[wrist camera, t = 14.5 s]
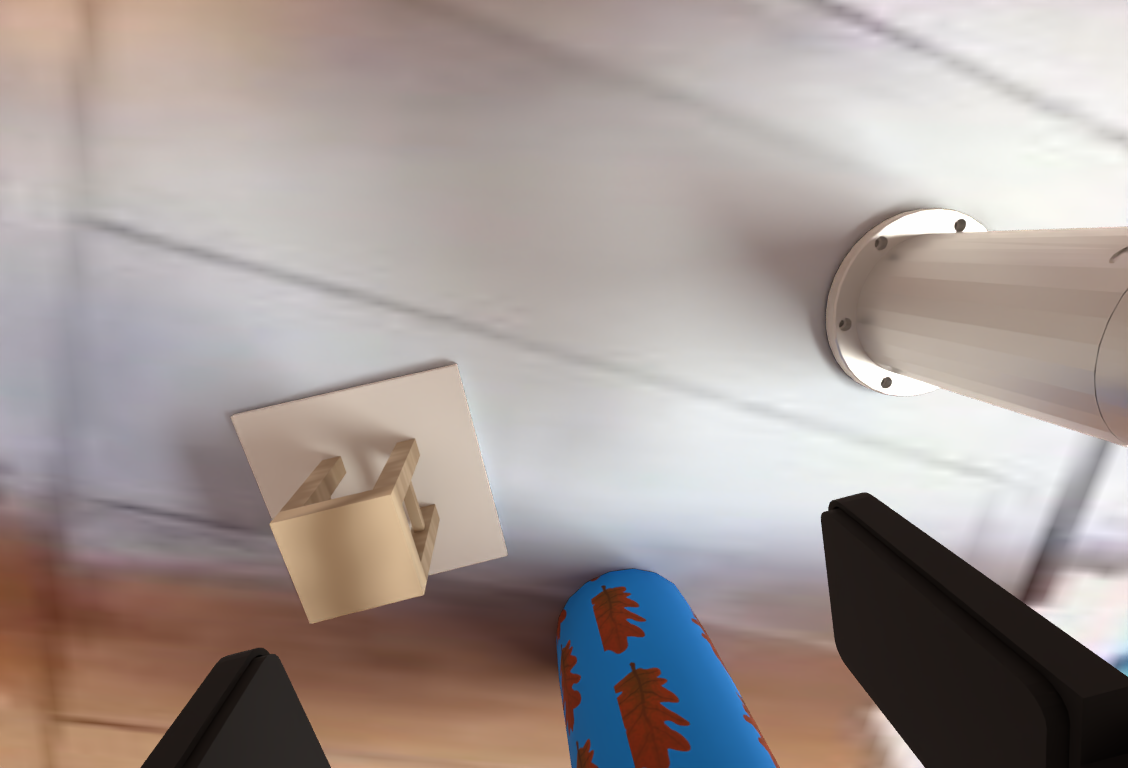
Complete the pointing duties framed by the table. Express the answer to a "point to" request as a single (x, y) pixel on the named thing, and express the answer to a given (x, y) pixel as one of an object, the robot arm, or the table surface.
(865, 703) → the table surface
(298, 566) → the stool
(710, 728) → the thermos
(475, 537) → the mat
